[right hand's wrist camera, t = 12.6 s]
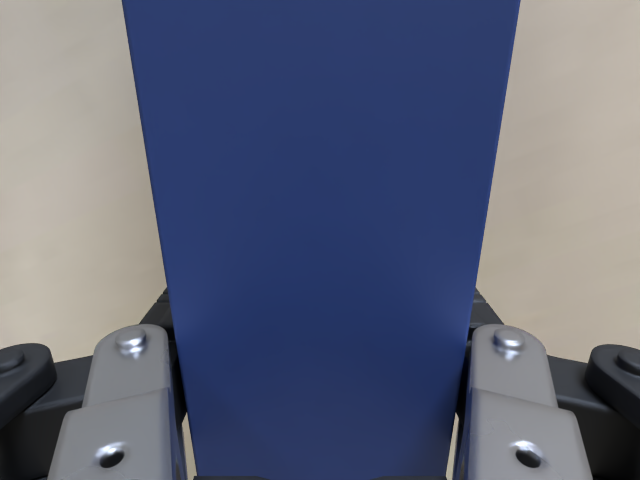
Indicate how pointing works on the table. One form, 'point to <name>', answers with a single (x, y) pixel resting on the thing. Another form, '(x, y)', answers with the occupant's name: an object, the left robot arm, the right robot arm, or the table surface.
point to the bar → (321, 220)
